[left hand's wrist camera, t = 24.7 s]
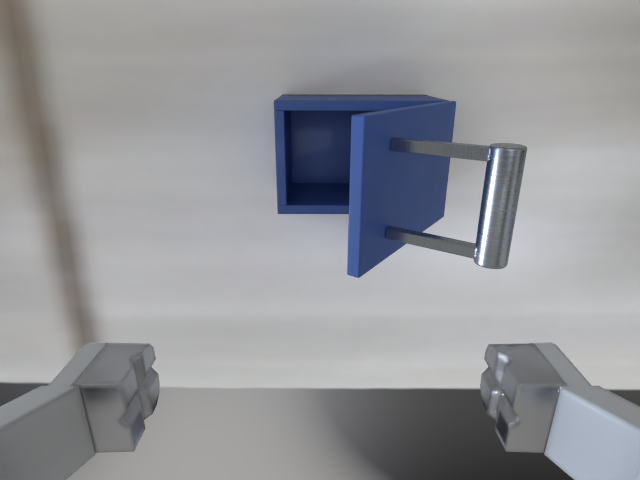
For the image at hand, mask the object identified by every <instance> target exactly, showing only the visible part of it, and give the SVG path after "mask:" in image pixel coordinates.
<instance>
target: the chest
mask: <svg viewBox="0 0 640 480" xmlns="http://www.w3.org/2000/svg"><path fill="white" fill-rule="evenodd" d="M443 101H448V100H443V99H439V98H435V97H430V96H427V95H282V96H281V97H279V98H277V99H276V100H274V110H275V111H274V118H275V146H276V175H277V204H278V214H349V194H350V157H351V119H352V115H356V114H363V113H369V112H376V111H383V110H389V109H396V108H403V107H410V106H416V105H423V104H430V103H437V102H443Z"/></svg>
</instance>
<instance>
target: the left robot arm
mask: <svg viewBox="0 0 640 480" xmlns="http://www.w3.org/2000/svg"><path fill="white" fill-rule="evenodd" d="M155 359H156V358H155V353H154V348H153V346H152V345H151V344H139V343H88V344H84V345H83V346H82V348H81V349H80V350H79V351H78V352H77V353H76V354H75V356H74V357H73V358H72V359H71V360H70V361H69V363H68V364H67V365H66V366H65V367H64V368H63V369H62V371H61V372H60V373H59V374H58V375H57V376H56V377H55V379H54V380H53V381H52V382H51V383H50V384H49V385H48V386H40V387H38V388H36V389H34V390H32V391H30V392H28V393H26V394H25V395H22V396H21V397H18V398H17V399H15V400H13V401H11V402H9V403H7V404H5V405H3V406H1V407H0V480H66V479H67V478H68V477H70V476H71V475H72V474H73V473H74V472H75V471H77V470H78V469H79V468H80V467H81V466H83V465H84V464H85V463H86V462H87V461H88V460H90V459H91V458H92V457H93V456H94V455H95V453H96V452H131V451H134V450H135V448H136V446H137V444H138V442H139V440H140V438H141V436H142V434H143V432H144V430H145V424H144V420H145V419H146V418H147V417H149V416H150V415H152V414H153V412H154V409H155V407H156V405H157V401H158V396H159V376H158V373H157V372H156V371H155V370H154V369H153V368H152V367H151V366H152V364H153V363H154V361H155ZM484 359H485V361H486V363H487V364H488V366H489V367H488V368H487V369H486V370H485V371H484V372H483V373H482V377H481V385H480V387H481V398H482V401H483V405H484V407H485V409H486V412H487V414H488V415H490V416H491V417H493V418H494V419H495V420H496V424H495V430H496V432H497V434H498V436H499V438H500V440H501V442H502V444H503V446H504V448H505V450H506V451H507V452H542V453H543V452H544V453H545V455H546V456H547V457H548V458H549V459H551V460H552V461H553V462H554V463H555V464H556V465H558V466H559V467H560V468H561V469H562V470H564V471H565V472H566V473H567V474H568V475H569V476H571V477H572V478H573V479H574V480H640V407H639V406H637V405H635V404H633V403H631V402H629V401H627V400H625V399H623V398H621V397H619V396H617V395H615V394H614V393H612V392H610V391H608V390H606V389H604V388H602V387H600V386H592V385H591V384H590V383H589V382H588V381H587V380H586V379H585V377H584V376H583V375H582V374H581V373H580V372H579V371H578V369H577V368H576V367H575V366H574V365H573V364H572V363H571V361H570V360H569V359H568V358H567V357H566V356H565V355H564V353H563V352H562V351H561V350H560V349H559V348H558V346H557V345H555V344H553V343H530V344H489V345H488V347H487V349H486V352H485V358H484Z"/></svg>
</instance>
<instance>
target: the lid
mask: <svg viewBox="0 0 640 480" xmlns="http://www.w3.org/2000/svg"><path fill="white" fill-rule="evenodd" d="M455 108H456V102H455V101H443V102H437V103H430V104H423V105H416V106H410V107H403V108H396V109H389V110H383V111H376V112H369V113H363V114H356V115H352V119H351V157H350V194H349V231H348V269H347V274H348V275H350V276H354V277H357V278H359V277H361V276H362V275H363V274H365V273H366V272H368V271H369V270H370V269H372V268H373V267H375V266H376V265H377V264H379V263H380V262H381V261H383V260H384V259H386V258H387V257H388V256H390V255H391V254H393V253H394V252H395V251H397V250H398V249H399V248H401V247H402V246H404V245H405V244H406V243H408V244H412V245H417V246H421V247H425V248H430V249H434V250H439V251H443V252H447V253H452V254H456V255H461V256H465V257H469V258H474V262H475V263H476V264H477V265H479V266H482V267H485V268H491V269H501V268H504V267H506V266H507V263H508V257H509V252H510V246H511V240H512V234H513V228H514V222H515V217H516V211H517V205H518V199H519V193H520V187H521V181H522V176H523V170H524V164H525V158H526V152H527V147H526V146H524V145H520V144H512V143H495V144H491V145H490V146H484V145H473V144H462V143H452V136H453V127H454V117H455ZM450 157H452V158H462V159H471V160H480V161H487V166H486V173H485V181H484V188H483V195H482V202H481V209H480V216H479V223H478V231H477V238H476V244H475V243H470V242H466V241H461V240H456V239H451V238H447V237H442V236H437V235H432V234H427V233H423V231H424V230H426V229H427V228H428V227H430V226H431V225H433V224H434V223H435V222H437V221H438V220H440V219H441V218H442V217H443V216H444V209H445V200H446V191H447V182H448V172H449V163H450Z"/></svg>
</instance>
